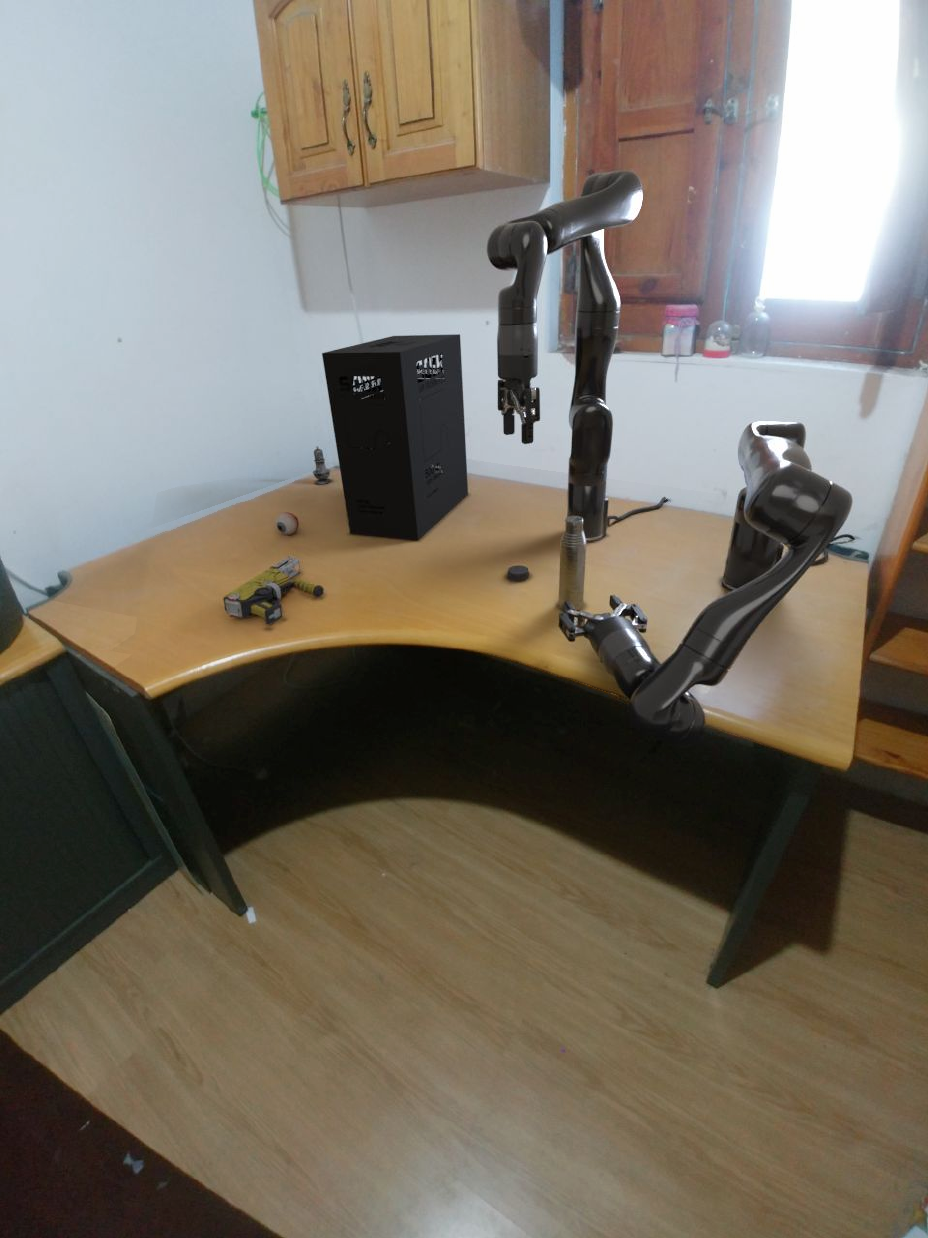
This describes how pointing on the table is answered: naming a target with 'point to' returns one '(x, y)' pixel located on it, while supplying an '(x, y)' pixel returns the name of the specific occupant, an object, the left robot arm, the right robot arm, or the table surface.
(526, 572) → the cap
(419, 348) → the cardboard box
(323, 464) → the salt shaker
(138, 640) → the table surface
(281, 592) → the toy gun
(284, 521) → the eyeball
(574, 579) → the bottle
